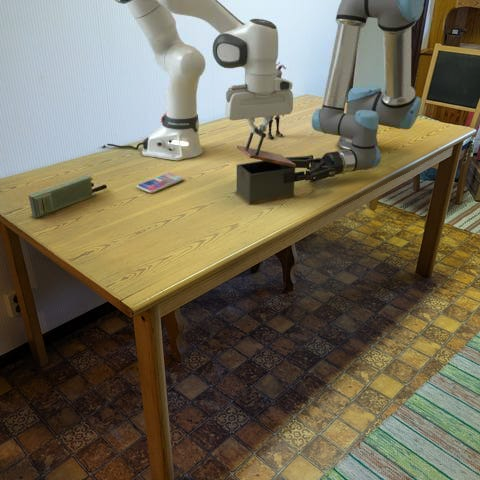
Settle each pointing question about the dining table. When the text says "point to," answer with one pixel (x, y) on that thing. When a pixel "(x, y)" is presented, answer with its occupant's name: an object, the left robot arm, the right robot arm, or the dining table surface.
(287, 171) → the chest
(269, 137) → the figurine
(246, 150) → the lid
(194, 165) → the dining table surface
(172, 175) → the smartphone
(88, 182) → the handheld radio
